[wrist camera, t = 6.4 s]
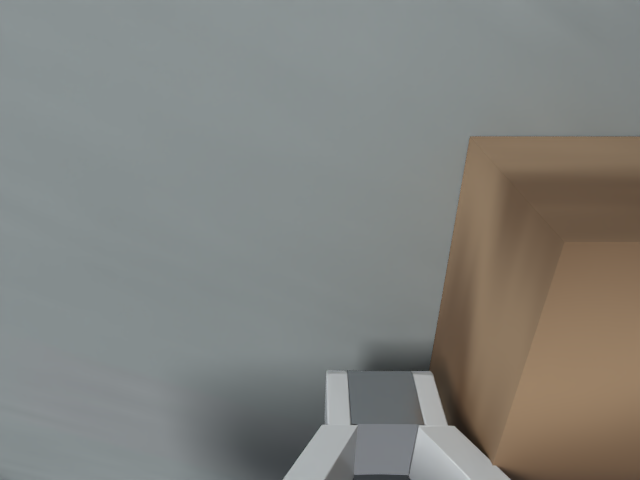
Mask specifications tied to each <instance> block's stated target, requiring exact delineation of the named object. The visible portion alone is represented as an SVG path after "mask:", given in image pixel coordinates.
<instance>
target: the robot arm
mask: <svg viewBox="0 0 640 480" xmlns="http://www.w3.org/2000/svg"><path fill="white" fill-rule="evenodd" d="M367 474H389V475H409V478H410V479H411V480H511V479H510V478H509V477H508V476H507V475H505V474H504V473H503V472H502V471H501V470H500V469H499V468H498V467H497V466H495V465H492V463H491V460H490V459H489V458H488V457H487V456H486V455H484V454H483V453H482V452H481V451H480V450H479V449H478V448H477V447H476V446H475V445H474V444H473V443H472V442H471V441H470V440H469V439H468V438H467V437H466V436H464V435H463V434H462V433H461V432H460V431H459V430H458V429H457V428H456V427H455V426H448V423H447V419H446V416H445V413H444V409H443V406H442V402H441V399H440V396H439V392H438V389H437V385H436V382H435V379H434V375H433V373H432V372H431V371H411V372H410V371H353V370H347V372H346V371H343V370H327V372H326V391H325V425H321V427H320V428H319V429H318V431H317V432H316V434H315V435H314V436H313V438H312V439H311V441H310V442H309V443H308V445H307V446H306V448H305V449H304V450H303V452H302V453H301V455H300V456H299V457H298V459H297V460H296V462H295V463H294V464H293V466H292V467H291V469H290V470H289V472H288V473H287V474H286V476H285V477H284V479H283V480H352V479H353V475H367Z"/></svg>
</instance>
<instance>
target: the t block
mask: <svg viewBox="0 0 640 480" xmlns="http://www.w3.org/2000/svg"><path fill="white" fill-rule="evenodd" d="M429 371H431V372H432V373H433V375H434V379H435V382H436V385H437V389H438V392H439V396H440V399H441V402H442V406H443V409H444V413H445V416H446V419H447V423H448V426H455V427H456V428H457V429H458V430H459V431H460V432H461V433H462V434H463V435H464V436H466V437H467V438H468V439H469V440H470V441H471V442H472V443H473V444H474V445H475V446H476V447H477V448H478V449H479V450H480V451H481V452H482V453H483V454H484V455H486V456H487V457H488V458H489V459H490V460H491V463H492V465H495V466H497V467H498V468H499V469H500V470H501V471H502V472H503V473H504V474H505V475H507V476H508V477H509V478H510V479H511V480H640V137H470V140H469V145H468V151H467V157H466V162H465V168H464V174H463V180H462V185H461V191H460V197H459V202H458V208H457V214H456V220H455V225H454V231H453V237H452V242H451V248H450V254H449V260H448V265H447V271H446V277H445V282H444V288H443V294H442V300H441V305H440V311H439V317H438V323H437V328H436V334H435V340H434V345H433V351H432V357H431V363H430V368H429Z"/></svg>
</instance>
